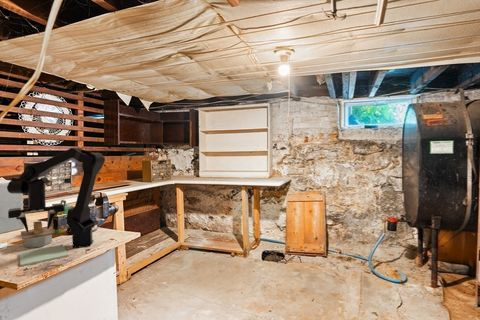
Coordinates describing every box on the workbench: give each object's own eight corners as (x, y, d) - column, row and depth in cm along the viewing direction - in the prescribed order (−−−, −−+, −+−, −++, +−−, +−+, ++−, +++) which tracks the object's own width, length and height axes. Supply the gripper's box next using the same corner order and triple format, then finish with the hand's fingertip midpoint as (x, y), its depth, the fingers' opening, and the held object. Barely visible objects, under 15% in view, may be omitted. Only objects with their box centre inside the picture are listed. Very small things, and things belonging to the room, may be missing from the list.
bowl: (50, 238, 121) (50, 228, 121) (52, 244, 114) (52, 233, 114) (24, 243, 115) (23, 233, 115) (24, 249, 108) (24, 238, 108)
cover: (52, 228, 122) (51, 217, 122) (55, 234, 114) (55, 223, 114) (20, 232, 115) (20, 222, 115) (21, 239, 107) (21, 228, 107)
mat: (62, 245, 113) (62, 244, 113) (68, 256, 102) (68, 254, 102) (19, 254, 104) (19, 252, 104) (20, 266, 93) (20, 264, 93)
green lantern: (47, 231, 132) (46, 201, 132) (67, 226, 140) (66, 198, 139) (55, 234, 127) (55, 203, 126) (76, 229, 135) (75, 200, 134)
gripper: (60, 189, 126) (61, 222, 127) (7, 193, 114) (9, 230, 115) (64, 192, 117) (65, 227, 118) (7, 197, 105) (9, 236, 106)
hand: (38, 230), depth 114 cm, fingers open, 7 cm apart
